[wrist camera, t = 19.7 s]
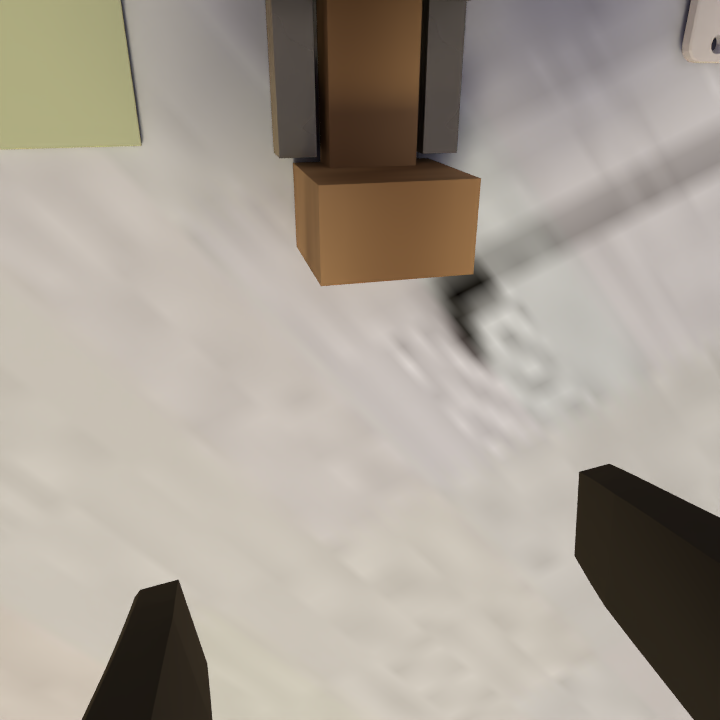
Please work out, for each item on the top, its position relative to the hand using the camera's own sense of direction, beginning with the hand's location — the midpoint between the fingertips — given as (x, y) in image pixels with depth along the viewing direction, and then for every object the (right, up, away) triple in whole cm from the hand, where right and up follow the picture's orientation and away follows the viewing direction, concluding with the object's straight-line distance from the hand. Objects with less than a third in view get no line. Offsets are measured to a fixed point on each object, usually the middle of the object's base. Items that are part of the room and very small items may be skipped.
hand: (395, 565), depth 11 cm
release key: (-1, +11, +6) cm, 13 cm away
